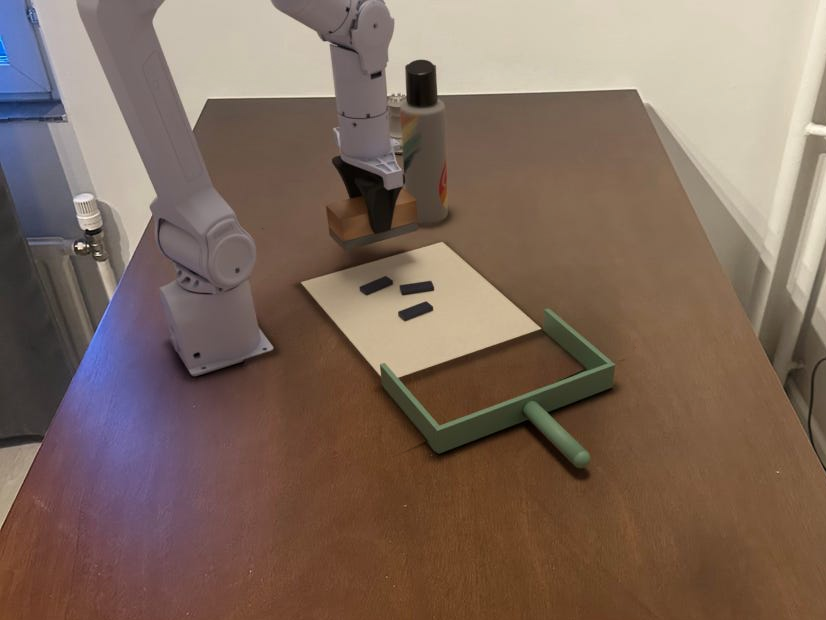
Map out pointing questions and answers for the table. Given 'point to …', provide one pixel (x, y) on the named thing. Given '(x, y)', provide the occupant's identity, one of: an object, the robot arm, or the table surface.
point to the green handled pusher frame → (518, 400)
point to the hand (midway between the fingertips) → (373, 222)
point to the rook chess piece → (396, 118)
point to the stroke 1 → (376, 285)
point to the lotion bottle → (424, 142)
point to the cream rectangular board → (426, 334)
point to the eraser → (368, 221)
